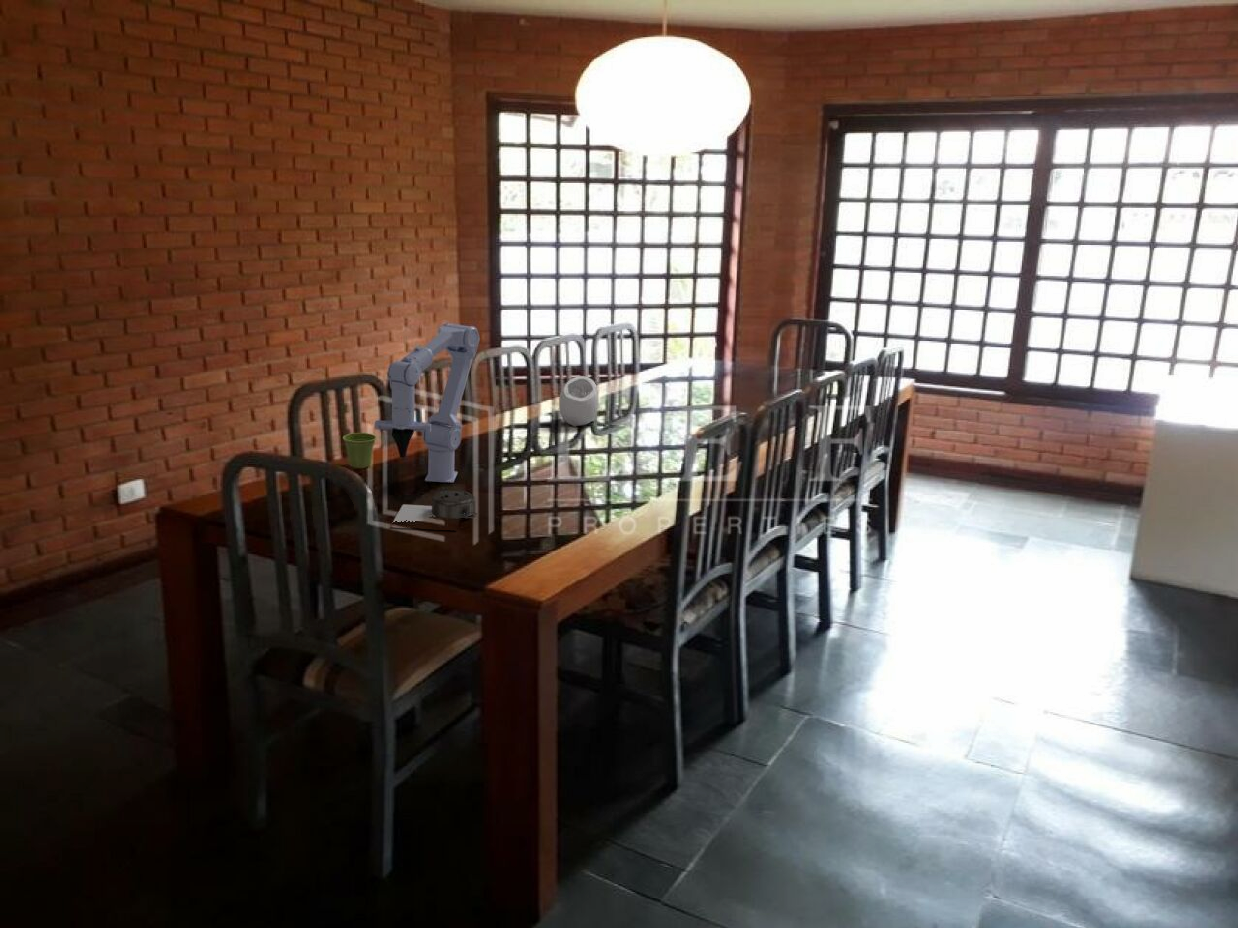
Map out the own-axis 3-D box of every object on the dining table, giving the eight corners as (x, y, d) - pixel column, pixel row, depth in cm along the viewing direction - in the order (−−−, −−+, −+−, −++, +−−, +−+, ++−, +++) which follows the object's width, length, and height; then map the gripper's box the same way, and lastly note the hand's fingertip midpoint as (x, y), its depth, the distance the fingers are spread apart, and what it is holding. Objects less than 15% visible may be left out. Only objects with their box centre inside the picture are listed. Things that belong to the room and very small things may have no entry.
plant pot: (341, 470, 271) (341, 441, 268) (344, 460, 280) (344, 432, 277) (375, 470, 273) (375, 441, 270) (377, 461, 282) (377, 433, 279)
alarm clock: (421, 507, 244) (454, 530, 233) (422, 488, 242) (455, 510, 231) (458, 501, 251) (492, 523, 239) (459, 482, 249) (493, 503, 238)
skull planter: (605, 411, 354) (603, 371, 341) (594, 447, 340) (591, 407, 326) (569, 407, 356) (566, 367, 343) (556, 443, 342) (553, 402, 328)
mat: (403, 506, 246) (403, 504, 246) (465, 509, 247) (465, 507, 247) (390, 527, 231) (390, 526, 231) (456, 531, 231) (456, 529, 231)
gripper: (371, 408, 244) (372, 459, 248) (428, 412, 245) (427, 462, 249) (377, 402, 251) (377, 451, 255) (432, 405, 252) (432, 454, 256)
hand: (402, 456), depth 252 cm, fingers closed
